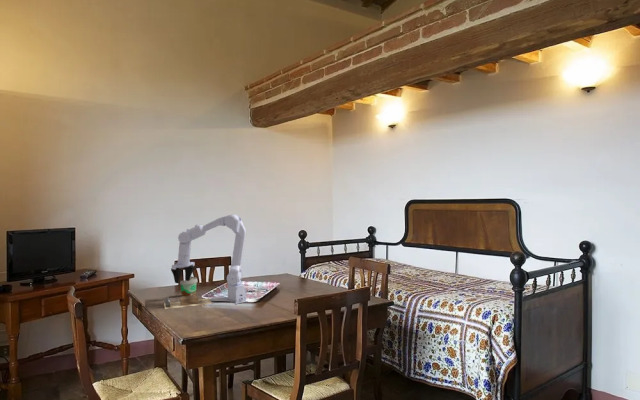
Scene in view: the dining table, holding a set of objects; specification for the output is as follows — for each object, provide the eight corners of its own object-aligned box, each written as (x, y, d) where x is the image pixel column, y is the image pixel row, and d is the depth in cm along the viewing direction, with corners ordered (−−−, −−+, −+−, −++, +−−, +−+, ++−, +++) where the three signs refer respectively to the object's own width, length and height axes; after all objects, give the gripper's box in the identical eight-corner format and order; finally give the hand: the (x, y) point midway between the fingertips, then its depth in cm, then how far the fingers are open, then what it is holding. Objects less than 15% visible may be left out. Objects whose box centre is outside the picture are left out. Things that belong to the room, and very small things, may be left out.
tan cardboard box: (196, 300, 228) (196, 294, 228) (198, 303, 223) (198, 297, 223) (180, 302, 225) (179, 296, 225) (181, 305, 220) (181, 299, 220)
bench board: (209, 301, 234) (209, 298, 234) (212, 306, 223) (212, 303, 223) (163, 306, 225) (163, 303, 225) (165, 312, 214) (165, 309, 214)
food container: (191, 300, 237) (190, 281, 236) (180, 300, 238) (179, 280, 238) (202, 294, 249) (201, 276, 248) (191, 294, 250) (191, 276, 250)
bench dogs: (169, 304, 224) (169, 296, 224) (170, 306, 218) (170, 299, 218) (165, 304, 223) (164, 297, 223) (165, 307, 217) (165, 300, 217)
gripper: (187, 252, 239) (185, 278, 240) (167, 255, 226) (165, 282, 227) (198, 254, 236) (196, 280, 237) (178, 257, 223) (176, 284, 224)
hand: (182, 281), depth 232 cm, fingers open, 7 cm apart
